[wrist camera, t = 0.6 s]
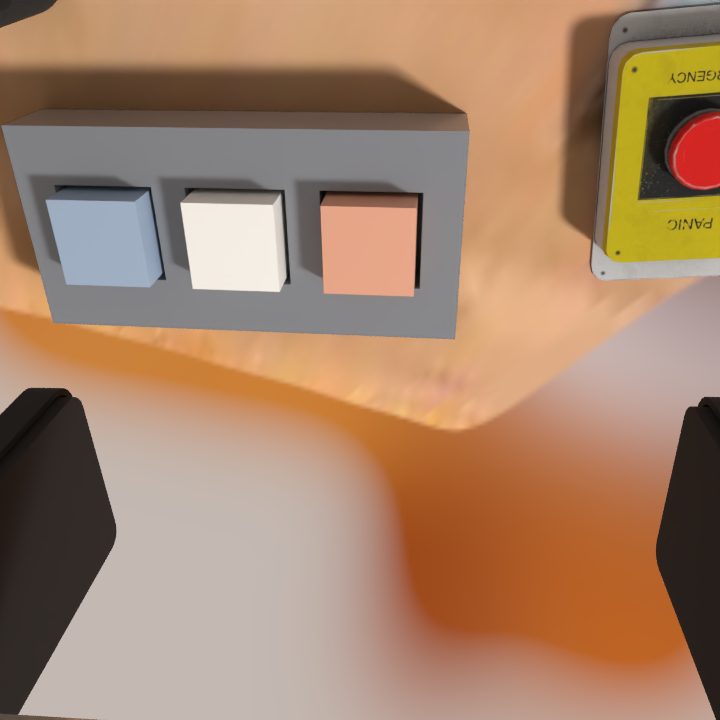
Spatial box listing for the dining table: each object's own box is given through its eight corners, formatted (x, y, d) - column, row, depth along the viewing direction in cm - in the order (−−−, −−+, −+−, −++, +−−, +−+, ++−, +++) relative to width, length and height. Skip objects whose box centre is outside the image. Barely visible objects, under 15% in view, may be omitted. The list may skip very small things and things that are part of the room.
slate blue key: (70, 183, 40) (45, 199, 37) (154, 185, 39) (134, 201, 37) (88, 264, 42) (66, 284, 40) (167, 266, 42) (150, 287, 39)
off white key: (197, 186, 39) (180, 202, 37) (284, 188, 39) (273, 204, 36) (208, 268, 42) (192, 288, 39) (289, 270, 41) (279, 292, 39)
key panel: (42, 109, 41) (0, 125, 37) (466, 113, 39) (469, 131, 35) (85, 292, 47) (53, 323, 43) (453, 305, 45) (454, 339, 41)
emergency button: (843, 1, 31) (774, 302, 38) (800, -5, 35) (744, 270, 42) (628, 20, 32) (601, 308, 40) (608, 13, 36) (587, 277, 44)
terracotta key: (328, 189, 38) (320, 206, 36) (418, 191, 38) (416, 208, 35) (331, 272, 41) (323, 293, 38) (415, 274, 41) (413, 296, 38)
